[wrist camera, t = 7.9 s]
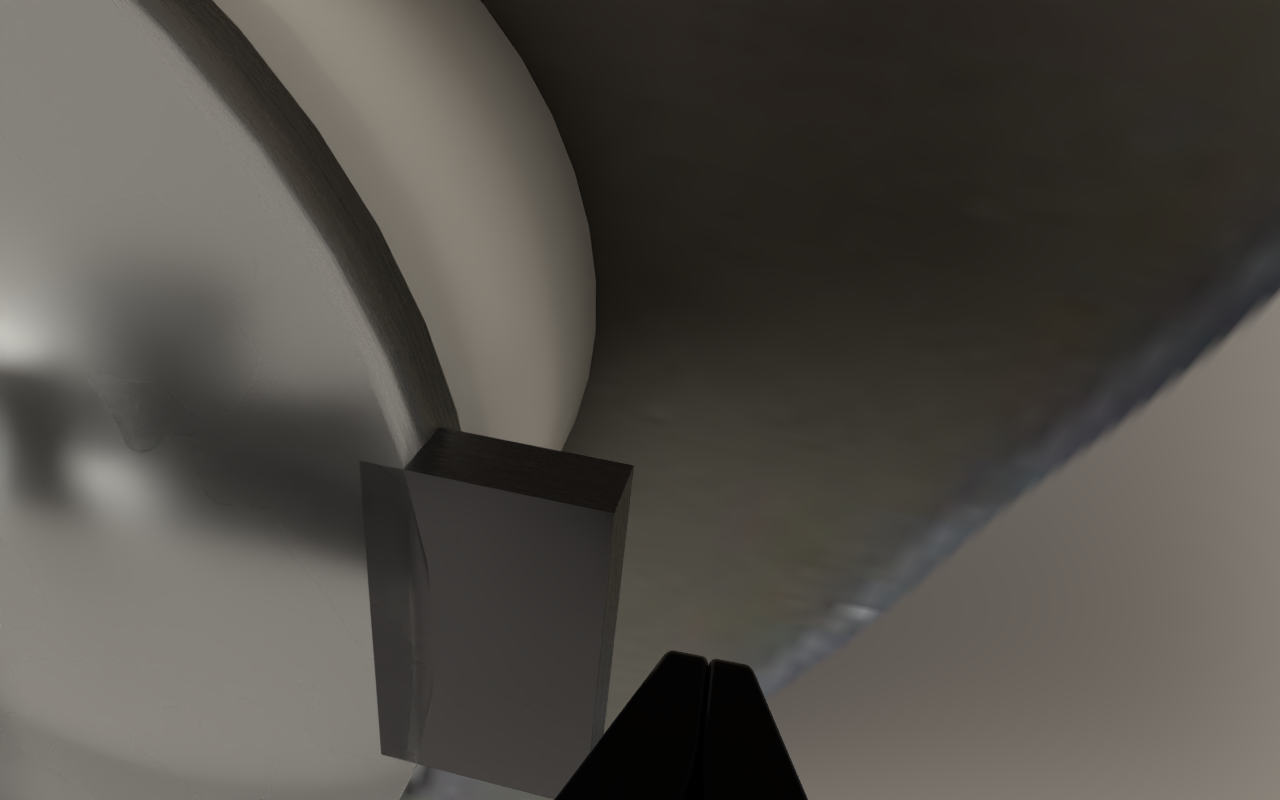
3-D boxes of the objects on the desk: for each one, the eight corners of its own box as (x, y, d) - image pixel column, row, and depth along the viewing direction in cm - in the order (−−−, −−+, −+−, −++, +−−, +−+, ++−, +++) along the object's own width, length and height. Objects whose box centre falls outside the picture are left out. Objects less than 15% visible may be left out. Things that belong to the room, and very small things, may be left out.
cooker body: (-31, 593, 22) (-289, 794, 17) (-433, -478, 12) (-1356, -804, 7) (565, 713, 20) (488, 974, 15) (653, -399, 11) (518, -738, 5)
